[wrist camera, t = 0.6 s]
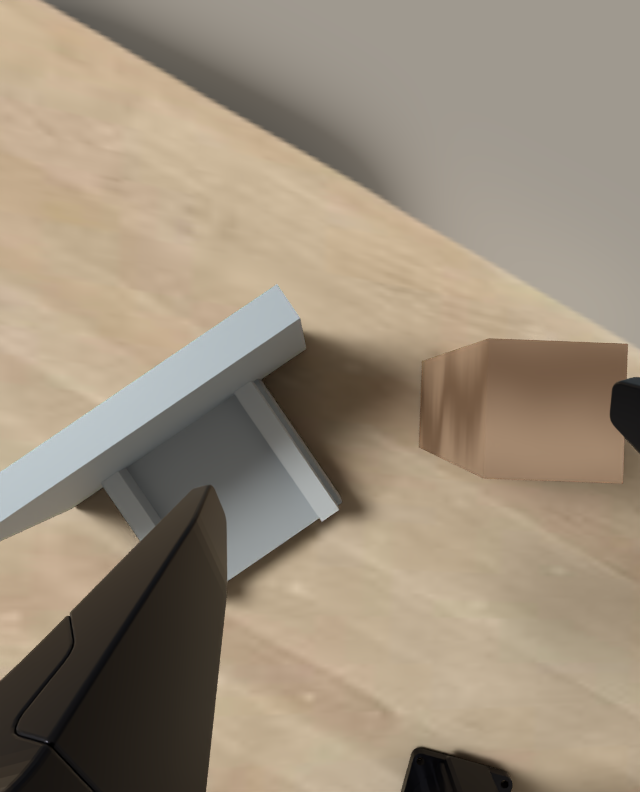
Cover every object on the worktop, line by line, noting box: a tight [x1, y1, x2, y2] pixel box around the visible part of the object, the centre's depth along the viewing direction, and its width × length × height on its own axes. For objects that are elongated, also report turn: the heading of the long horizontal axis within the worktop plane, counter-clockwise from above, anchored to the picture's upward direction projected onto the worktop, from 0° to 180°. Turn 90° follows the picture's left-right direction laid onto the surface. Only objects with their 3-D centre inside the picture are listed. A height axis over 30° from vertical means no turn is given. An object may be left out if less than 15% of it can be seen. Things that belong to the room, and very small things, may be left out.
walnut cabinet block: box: [419, 338, 628, 483], centre depth 21 cm, size 6×6×10 cm
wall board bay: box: [0, 284, 342, 581], centre depth 21 cm, size 11×18×10 cm, turn 124°
